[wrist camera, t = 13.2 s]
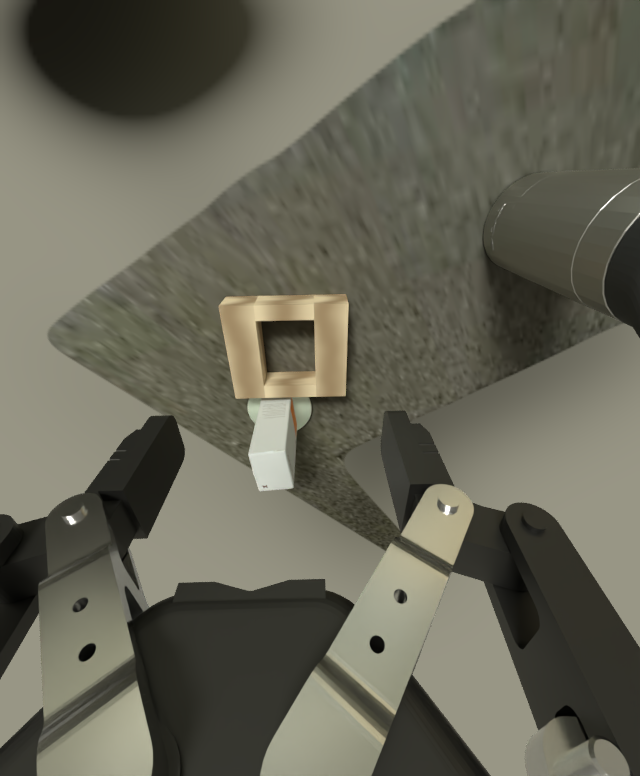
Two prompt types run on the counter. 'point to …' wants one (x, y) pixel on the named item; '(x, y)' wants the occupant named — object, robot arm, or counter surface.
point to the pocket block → (249, 353)
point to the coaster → (300, 407)
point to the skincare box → (274, 444)
